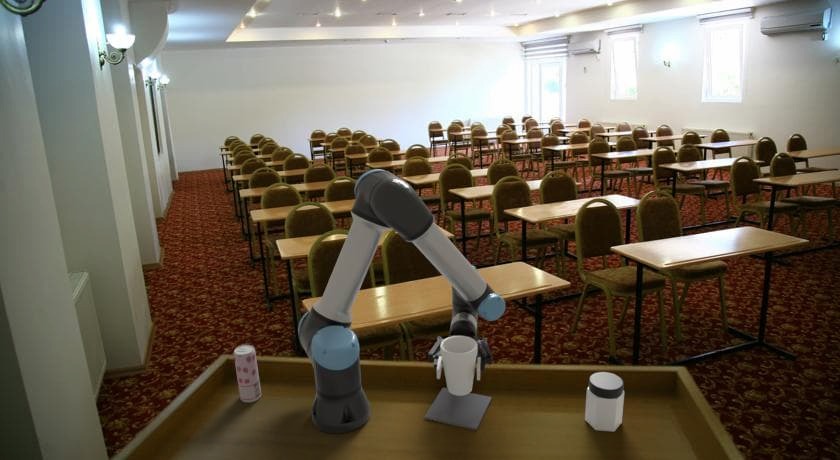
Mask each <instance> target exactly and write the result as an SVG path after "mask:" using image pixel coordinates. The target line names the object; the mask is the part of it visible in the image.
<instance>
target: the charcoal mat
mask: <svg viewBox="0 0 840 460" xmlns="http://www.w3.org/2000/svg"><path fill="white" fill-rule="evenodd" d="M492 399H493V398H492V396H488V395H487V396H486V395H483V394H478V393H471V392H470V393H469V394H467V395H463V396H457V395H453V394H451V393H450V392H449V391H448V387H442V388H441V390H440V392H439V393H438V394H437V396H436V398H435V399H434V400H433V402H432V404H431V406H430V407H429V409H428V410H427V412H426V414H425V415H424V417H423V418H427V419H426V420H428V419H431V420H430V421H432V420H434V421H433V422H437V421H438V423H441V422H442V424H446V423H447V424H446V425H449V426H450V425H451V426H455V427H459V428H464V429H469V430H473V431H477V430H478V428H479V426H480V424H481V423H482V421H483V418H484V417H485V414H486V411H487V410H488V408H489V406H490V403H491V401H492Z"/></svg>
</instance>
